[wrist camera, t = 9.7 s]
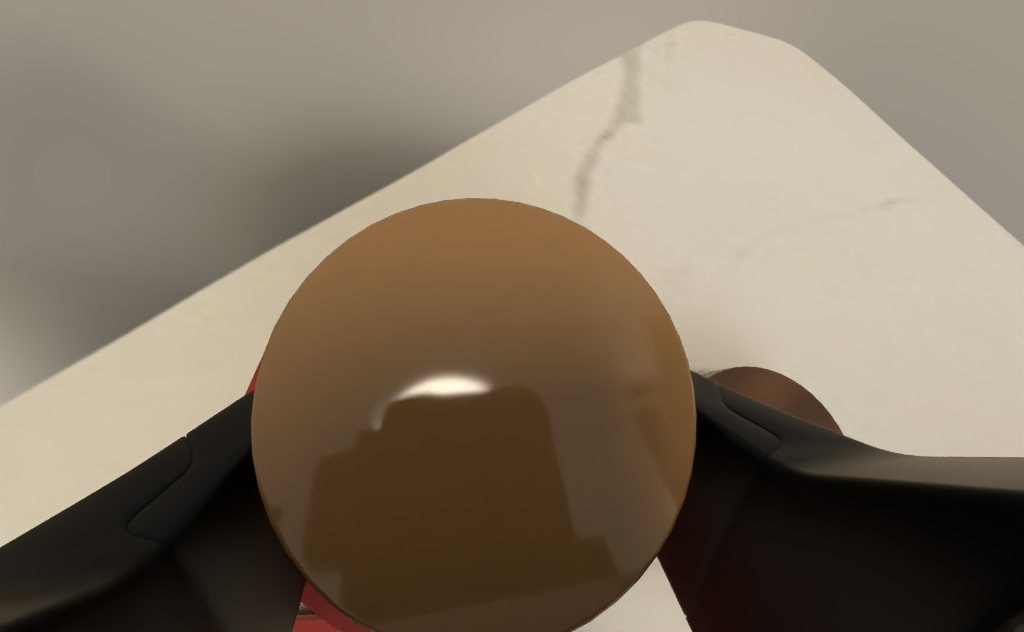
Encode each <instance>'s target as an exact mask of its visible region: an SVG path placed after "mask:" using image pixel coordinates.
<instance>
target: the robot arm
mask: <svg viewBox="0 0 1024 632" xmlns="http://www.w3.org/2000/svg"><path fill="white" fill-rule="evenodd" d="M690 373H691V378H692V382H693V387H694V395H695V405H696V415H697V417H696V447H695V454H694V461H693V469H692V474H691V478H690V481H689V485H688V489H687V493H686V496H685V500H684V502H683V505H682V507H681V510H680V512H679V515H678V517H677V520H676V522H675V525H674V527H673V529H672V531H671V532H670V534H669V536H668V538H667V540H666V541H665V543H664V545H663V547H662V548H661V550H660V552H659V554H658V555H657V557H658V559H659V561H660V564H661V566H662V568H663V570H664V572H665V574H666V576H667V578H668V581H669V583H670V585H671V587H672V589H673V591H674V593H675V595H676V598H677V600H678V602H679V604H680V606H681V608H682V610H683V613H684V614H685V615H686V620H687V622H688V624H689V626H690V628H691V630H692V632H1024V458H1021V457H925V456H913V455H905V454H899V453H894V452H890V451H886V450H882V449H879V448H875V447H873V446H870V445H867V444H864V443H862V442H859V441H856V440H854V439H851V438H849V437H846V436H844V435H841V434H839V433H836V432H834V431H831V430H829V429H826V428H824V427H821V426H819V425H816V424H814V423H811V422H809V421H806V420H804V419H801V418H799V417H796V416H793V415H791V414H789V413H786V412H784V411H781V410H779V409H776V408H774V407H771V406H769V405H767V404H764V403H762V402H760V401H757V400H755V399H753V398H750V397H748V396H746V395H744V394H741V393H739V392H737V391H735V390H732V389H730V388H728V387H726V386H724V385H719V384H718V383H717V382H715V381H713V380H710V379H708V378H706V377H704V376H702V375H699V374H697V373H695V372H693V371H691V370H690ZM253 398H254V390H252V391H251V392H249V393H248V394H246V395H245V396H243V397H242V398H240V399H239V400H237V401H236V402H234V403H233V404H231V405H230V406H228V407H227V408H225V409H224V410H222V411H221V412H219V413H218V414H216V415H215V416H213V417H211V418H210V419H208V420H207V421H205V422H204V423H202V424H201V425H199V426H198V427H196V428H195V429H193V430H192V431H190V432H189V433H187V435H186V437H187V438H186V437H181V438H180V439H178V440H177V441H175V442H174V443H172V444H171V445H169V446H168V447H166V448H165V449H163V450H162V451H160V452H158V453H157V454H155V455H154V456H152V457H151V458H149V459H148V460H146V461H144V462H143V463H141V464H140V465H138V466H137V467H135V468H133V469H132V470H130V471H129V472H127V473H126V474H124V475H122V476H121V477H119V478H117V479H116V480H114V481H112V482H111V483H109V484H107V485H106V486H104V487H102V488H101V489H99V490H97V491H96V492H94V493H92V494H91V495H89V496H87V497H86V498H84V499H82V500H81V501H79V502H77V503H75V504H74V505H72V506H70V507H69V508H67V509H65V510H63V511H62V512H60V513H58V514H57V515H55V516H53V517H52V518H50V519H48V520H46V521H45V522H43V523H41V524H40V525H38V526H36V527H35V528H33V529H31V530H29V531H28V532H26V533H24V534H23V535H21V536H19V537H17V538H16V539H14V540H12V541H11V542H9V543H7V544H6V545H4V546H2V547H0V632H292V631H293V628H294V624H295V620H296V617H297V613H298V609H299V605H300V602H301V598H302V594H303V591H304V587H305V583H306V579H305V578H304V577H303V575H302V574H301V573H300V571H299V570H298V569H297V567H296V566H295V564H294V563H293V562H292V560H291V559H290V558H289V556H288V555H287V554H286V552H285V550H284V548H283V546H282V545H281V543H280V541H279V539H278V537H277V535H276V533H275V531H274V529H273V527H272V525H271V523H270V521H269V519H268V516H267V513H266V510H265V507H264V504H263V501H262V498H261V495H260V492H259V489H258V484H257V478H256V473H255V467H254V462H253V456H252V434H251V417H252V407H253Z"/></svg>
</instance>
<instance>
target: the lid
mask: <svg viewBox="0 0 1024 632" xmlns="http://www.w3.org/2000/svg"><path fill="white" fill-rule="evenodd" d="M292 632H342V631H340V630H336V629H334V628H333V627H332V626H331V625H329V624H328V623H327V622H326V621H324V620H323V619H322V618H321V617H319V616H318V615H317V614H313V615H297V617H296V620H295V624H294V628H293V631H292Z"/></svg>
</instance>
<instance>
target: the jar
mask: <svg viewBox="0 0 1024 632" xmlns="http://www.w3.org/2000/svg"><path fill="white" fill-rule="evenodd" d="M696 417H697V415H696V405H695V395H694V387H693V382H692V378H691V373H690V368H689V364H688V360H687V357H686V354H685V351H684V348H683V346H682V343H681V340H680V337H679V335H678V333H677V331H676V328H675V326H674V324H673V322H672V320H671V318H670V316H669V314H668V312H667V311H666V309H665V307H664V306H663V304H662V302H661V301H660V299H659V297H658V296H657V294H656V293H655V291H654V290H653V289H652V288H651V286H650V285H649V284H648V282H647V281H646V280H645V279H644V277H643V276H642V275H641V273H640V272H639V271H638V270H637V269H636V268H635V267H634V266H633V265H632V264H631V263H630V262H629V261H628V260H627V259H626V258H625V257H624V256H623V255H622V254H620V253H619V252H618V251H617V250H616V249H614V248H613V247H612V246H611V245H610V244H608V243H607V242H606V241H605V240H603V239H602V238H600V237H599V236H597V235H596V234H594V233H593V232H591V231H590V230H588V229H587V228H585V227H583V226H581V225H579V224H577V223H575V222H573V221H571V220H569V219H567V218H565V217H563V216H561V215H558V214H555V213H553V212H550V211H547V210H545V209H542V208H539V207H535V206H531V205H527V204H523V203H519V202H513V201H506V200H498V199H480V198H466V199H455V200H444V201H439V202H435V203H430V204H425V205H420V206H417V207H414V208H411V209H408V210H405V211H402V212H399V213H396V214H393V215H391V216H389V217H387V218H385V219H383V220H381V221H379V222H376V223H374V224H372V225H370V226H369V227H367V228H366V229H364V230H362V231H361V232H359V233H358V234H356V235H354V236H353V237H351V238H350V239H348V240H347V241H346V242H344V243H343V244H342V245H341V246H339V247H338V248H337V249H336V250H334V251H333V252H332V253H331V254H329V255H328V256H327V257H326V258H325V259H324V260H323V261H322V262H321V263H320V264H319V265H318V266H317V267H316V268H315V269H314V270H313V271H312V272H311V273H310V275H309V276H308V277H307V278H306V279H305V280H304V282H303V283H302V284H301V286H300V287H299V288H298V290H297V291H296V292H295V294H294V295H293V296H292V298H291V299H290V300H289V302H288V304H287V306H286V307H285V309H284V311H283V313H282V314H281V316H280V318H279V320H278V322H277V323H276V325H275V327H274V329H273V332H272V334H271V337H270V339H269V342H268V344H267V347H266V349H265V352H264V354H263V357H262V360H261V364H260V368H259V372H258V376H257V380H256V384H255V389H254V398H253V407H252V417H251V434H252V456H253V462H254V467H255V473H256V478H257V484H258V489H259V492H260V495H261V498H262V501H263V504H264V507H265V510H266V513H267V516H268V519H269V521H270V523H271V525H272V527H273V529H274V531H275V533H276V535H277V537H278V539H279V541H280V543H281V545H282V546H283V548H284V550H285V552H286V554H287V555H288V556H289V558H290V559H291V560H292V562H293V563H294V564H295V566H296V567H297V569H298V570H299V571H300V573H301V574H302V575H303V577H304V578H305V579H306V581H307V582H308V583H309V584H310V585H311V586H312V587H313V588H314V589H315V590H316V591H317V592H318V593H319V594H320V595H321V596H322V597H323V598H324V599H325V600H327V601H328V602H329V603H330V604H331V605H332V606H333V607H334V608H336V609H337V610H339V611H340V612H341V613H343V614H344V615H346V616H347V617H348V618H350V619H351V620H353V621H354V622H356V623H357V624H358V625H360V626H361V627H363V628H365V629H368V630H370V631H372V632H572V631H574V630H576V629H577V628H579V627H581V626H583V625H585V624H587V623H589V622H590V621H592V620H593V619H594V618H596V617H597V616H598V615H600V614H601V613H602V612H604V611H605V610H606V609H608V608H609V607H610V606H612V605H613V604H614V603H616V602H617V601H618V600H619V599H620V598H621V597H622V596H623V595H624V594H625V593H626V592H627V591H628V590H629V589H630V588H631V587H632V586H633V585H634V584H635V583H636V582H637V581H638V580H639V579H640V578H641V576H642V575H643V574H644V572H645V571H646V570H647V568H648V567H649V566H650V564H651V563H652V562H653V560H654V559H655V558H656V556H657V555H658V554H659V552H660V550H661V548H662V547H663V545H664V543H665V541H666V540H667V538H668V536H669V534H670V532H671V531H672V529H673V527H674V525H675V522H676V520H677V517H678V515H679V512H680V510H681V507H682V505H683V502H684V500H685V496H686V493H687V489H688V485H689V481H690V478H691V474H692V469H693V461H694V454H695V447H696Z"/></svg>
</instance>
